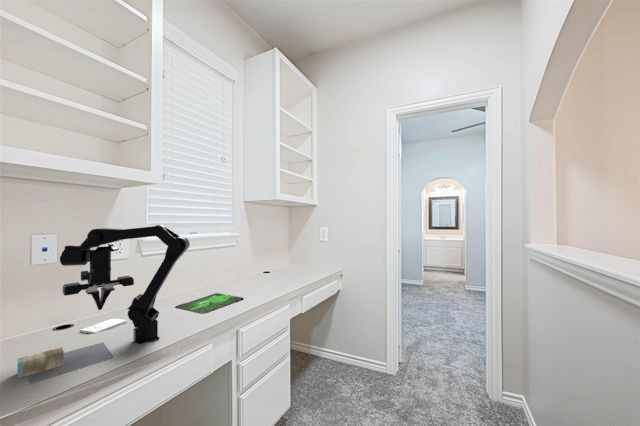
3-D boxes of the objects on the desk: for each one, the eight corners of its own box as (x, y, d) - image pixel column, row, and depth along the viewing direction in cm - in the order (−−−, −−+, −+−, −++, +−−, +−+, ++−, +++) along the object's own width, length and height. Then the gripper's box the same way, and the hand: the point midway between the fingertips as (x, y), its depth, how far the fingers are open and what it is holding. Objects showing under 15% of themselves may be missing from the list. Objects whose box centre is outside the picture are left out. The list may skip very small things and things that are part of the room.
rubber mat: (103, 343, 95) (103, 342, 95) (114, 359, 84) (114, 357, 84) (27, 364, 81) (27, 362, 81) (29, 386, 71) (29, 384, 71)
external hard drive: (126, 323, 114) (94, 336, 102) (112, 321, 117) (79, 333, 105) (126, 320, 114) (94, 331, 102) (112, 318, 117) (79, 329, 105)
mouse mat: (203, 315, 124) (203, 313, 124) (172, 308, 133) (172, 306, 134) (245, 299, 148) (245, 297, 148) (216, 294, 158) (216, 292, 158)
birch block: (61, 347, 83) (17, 358, 76) (63, 351, 80) (17, 363, 73) (61, 360, 83) (17, 373, 76) (63, 365, 80) (17, 378, 73)
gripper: (126, 259, 107) (125, 299, 107) (60, 265, 93) (60, 311, 93) (134, 262, 100) (134, 305, 99) (65, 269, 86) (64, 319, 85)
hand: (99, 309), depth 94 cm, fingers closed
